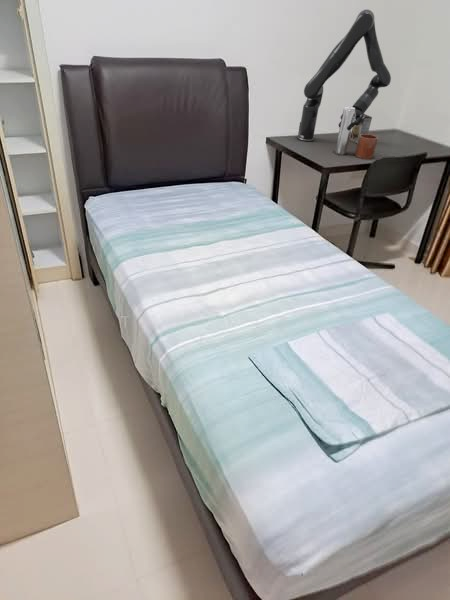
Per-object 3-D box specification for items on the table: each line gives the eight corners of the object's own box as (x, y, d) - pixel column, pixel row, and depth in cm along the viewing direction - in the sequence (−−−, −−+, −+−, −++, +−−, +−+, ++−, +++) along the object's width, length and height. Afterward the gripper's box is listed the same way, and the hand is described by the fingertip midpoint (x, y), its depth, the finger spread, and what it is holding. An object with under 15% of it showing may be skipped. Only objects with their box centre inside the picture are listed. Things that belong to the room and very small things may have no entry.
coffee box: (349, 140, 278) (355, 113, 269) (357, 139, 280) (363, 113, 271) (357, 144, 271) (363, 116, 262) (365, 143, 273) (372, 116, 264)
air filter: (348, 154, 250) (358, 108, 236) (338, 155, 248) (348, 108, 234) (341, 151, 255) (351, 105, 241) (332, 151, 253) (341, 106, 239)
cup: (351, 154, 252) (356, 134, 245) (364, 152, 256) (369, 133, 249) (362, 159, 245) (367, 139, 238) (376, 158, 249) (381, 138, 242)
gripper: (350, 96, 243) (331, 120, 244) (371, 101, 234) (351, 126, 235) (354, 106, 249) (336, 129, 250) (374, 111, 240) (355, 135, 241)
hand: (343, 127), depth 243 cm, fingers closed on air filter, 5 cm apart
